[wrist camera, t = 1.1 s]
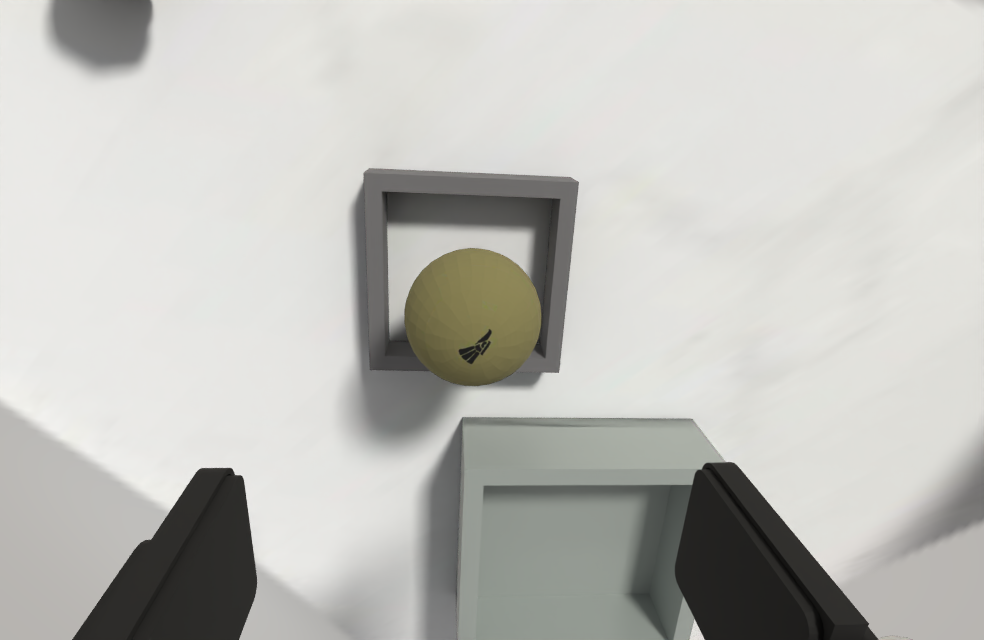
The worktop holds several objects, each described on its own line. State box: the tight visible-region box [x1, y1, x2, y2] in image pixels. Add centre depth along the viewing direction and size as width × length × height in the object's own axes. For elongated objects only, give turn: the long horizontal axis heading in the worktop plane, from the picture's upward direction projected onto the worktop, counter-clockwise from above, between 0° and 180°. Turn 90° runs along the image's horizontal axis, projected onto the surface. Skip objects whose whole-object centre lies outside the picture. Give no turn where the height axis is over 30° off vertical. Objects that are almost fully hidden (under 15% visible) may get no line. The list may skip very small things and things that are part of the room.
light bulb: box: [405, 248, 541, 386], centre depth 24 cm, size 6×6×10 cm
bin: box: [456, 417, 725, 640], centre depth 33 cm, size 14×14×5 cm
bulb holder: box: [364, 168, 579, 373], centre depth 28 cm, size 10×10×2 cm
